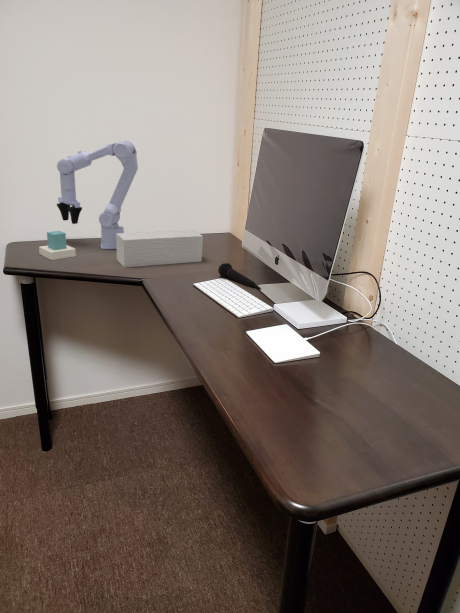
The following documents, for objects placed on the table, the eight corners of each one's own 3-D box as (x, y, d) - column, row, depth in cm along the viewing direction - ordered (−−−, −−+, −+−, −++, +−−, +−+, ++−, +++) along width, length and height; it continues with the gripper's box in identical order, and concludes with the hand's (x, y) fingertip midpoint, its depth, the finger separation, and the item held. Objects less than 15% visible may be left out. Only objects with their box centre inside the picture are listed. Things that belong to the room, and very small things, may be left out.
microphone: (261, 297, 163) (222, 275, 174) (267, 282, 161) (227, 261, 173) (252, 295, 158) (213, 274, 170) (259, 280, 157) (218, 259, 168)
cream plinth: (63, 250, 188) (62, 243, 187) (75, 256, 182) (75, 248, 180) (39, 254, 181) (38, 246, 180) (51, 260, 175) (51, 252, 174)
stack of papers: (191, 254, 196) (192, 229, 192) (201, 261, 187) (203, 235, 183) (116, 260, 182) (116, 233, 178) (124, 267, 173) (123, 239, 169)
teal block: (60, 245, 183) (58, 230, 181) (66, 248, 180) (65, 233, 178) (48, 247, 180) (46, 232, 178) (54, 250, 177) (53, 234, 175)
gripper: (50, 187, 192) (52, 219, 197) (68, 192, 183) (70, 226, 188) (66, 186, 197) (68, 218, 202) (84, 191, 188) (85, 224, 193)
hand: (70, 221), depth 195 cm, fingers open, 7 cm apart
